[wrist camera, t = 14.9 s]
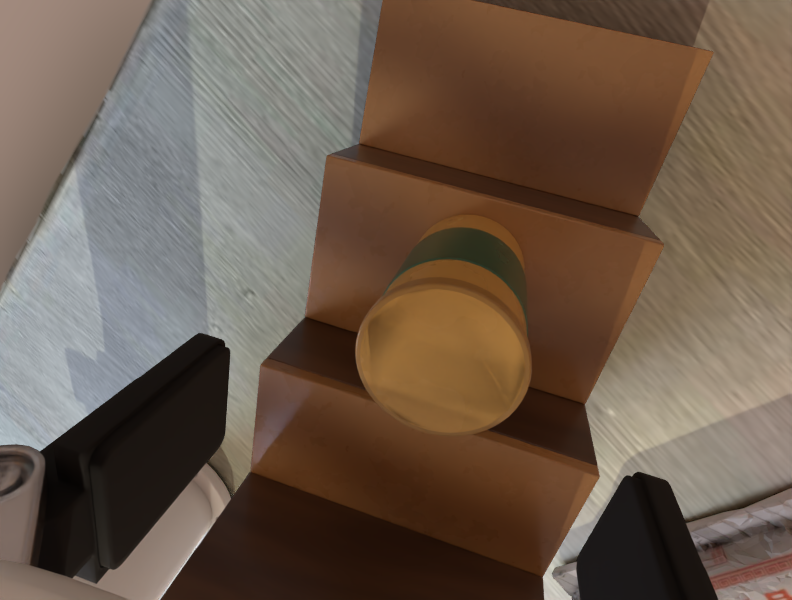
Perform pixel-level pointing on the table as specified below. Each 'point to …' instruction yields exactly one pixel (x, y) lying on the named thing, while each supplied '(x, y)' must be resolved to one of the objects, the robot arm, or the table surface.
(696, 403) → the table surface
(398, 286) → the tin
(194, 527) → the robot arm
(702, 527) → the packaged product
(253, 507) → the step shelf
